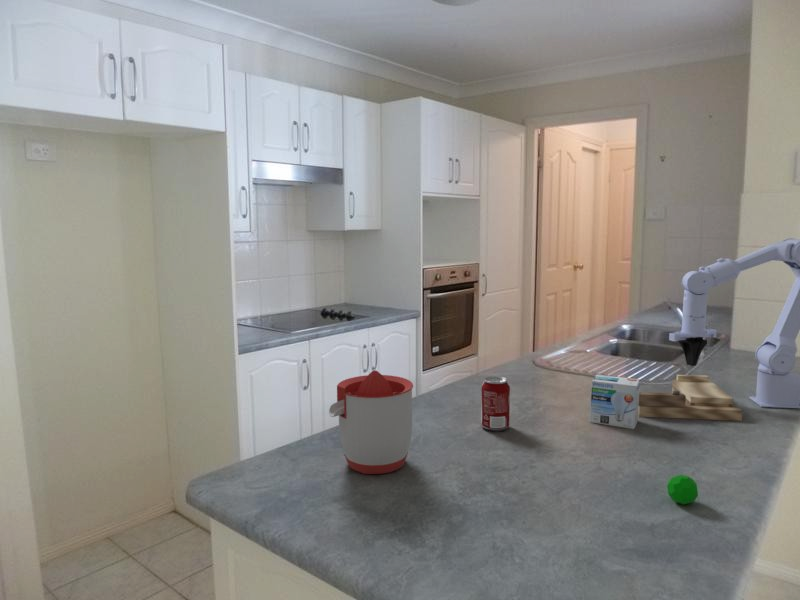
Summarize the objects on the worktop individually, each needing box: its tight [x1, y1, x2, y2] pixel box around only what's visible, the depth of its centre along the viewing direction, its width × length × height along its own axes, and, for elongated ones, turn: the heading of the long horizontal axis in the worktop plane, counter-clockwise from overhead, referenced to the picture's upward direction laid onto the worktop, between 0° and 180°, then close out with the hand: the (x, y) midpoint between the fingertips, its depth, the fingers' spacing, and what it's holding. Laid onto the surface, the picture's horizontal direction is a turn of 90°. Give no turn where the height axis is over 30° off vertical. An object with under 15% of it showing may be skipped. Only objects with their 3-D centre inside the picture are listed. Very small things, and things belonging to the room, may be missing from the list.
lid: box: [671, 374, 734, 405], centre depth 156 cm, size 10×16×3 cm, turn 171°
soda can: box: [480, 375, 511, 432], centre depth 141 cm, size 7×7×12 cm
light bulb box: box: [589, 374, 641, 430], centre depth 144 cm, size 11×7×11 cm, turn 62°
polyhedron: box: [666, 474, 699, 505], centre depth 104 cm, size 5×5×5 cm
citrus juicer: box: [328, 370, 414, 475], centre depth 120 cm, size 16×17×20 cm
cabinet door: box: [639, 391, 686, 408], centre depth 148 cm, size 11×2×4 cm, turn 81°
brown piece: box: [638, 385, 743, 422], centre depth 156 cm, size 24×19×3 cm
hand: (691, 365), depth 160 cm, fingers closed
